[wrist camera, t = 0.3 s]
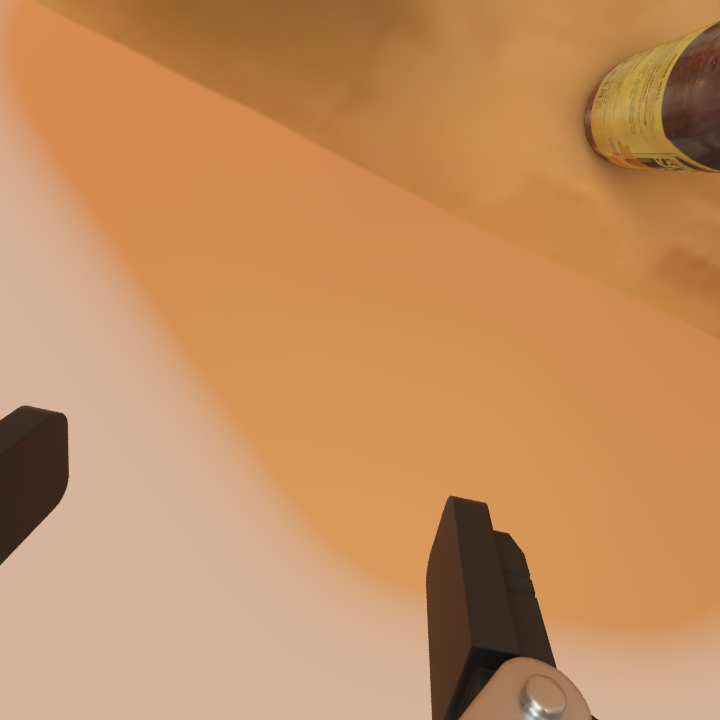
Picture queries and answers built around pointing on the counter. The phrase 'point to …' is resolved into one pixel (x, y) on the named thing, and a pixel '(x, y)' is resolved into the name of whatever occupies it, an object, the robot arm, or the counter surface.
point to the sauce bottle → (661, 107)
